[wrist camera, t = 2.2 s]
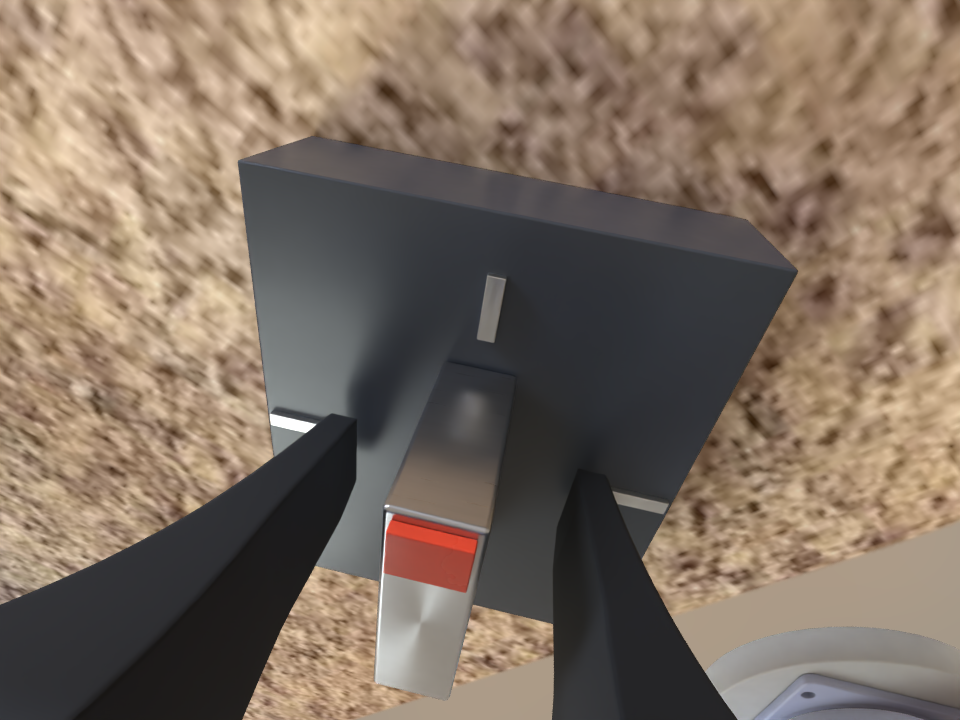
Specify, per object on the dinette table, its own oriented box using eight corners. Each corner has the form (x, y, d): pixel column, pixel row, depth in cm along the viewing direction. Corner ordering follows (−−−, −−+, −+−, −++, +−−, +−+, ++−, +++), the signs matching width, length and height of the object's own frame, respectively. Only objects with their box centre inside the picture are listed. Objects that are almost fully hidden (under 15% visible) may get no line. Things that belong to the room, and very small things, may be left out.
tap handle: (480, 538, 13) (445, 717, 10) (422, 525, 13) (368, 696, 10) (518, 374, 10) (488, 547, 7) (444, 359, 10) (375, 520, 7)
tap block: (596, 551, 17) (600, 641, 15) (325, 488, 18) (282, 563, 15) (747, 219, 11) (804, 274, 8) (311, 135, 11) (230, 161, 9)
